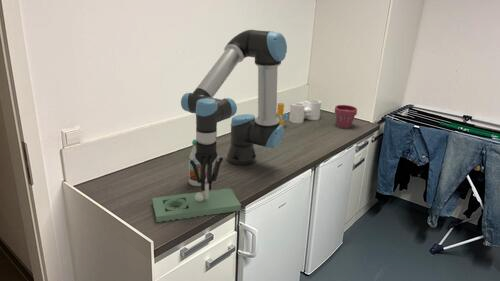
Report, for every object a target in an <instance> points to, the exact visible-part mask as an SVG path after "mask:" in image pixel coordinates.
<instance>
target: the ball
mask: <svg viewBox="0 0 500 281" xmlns="http://www.w3.org/2000/svg"><path fill="white" fill-rule="evenodd" d="M198 192H199V193H197V192H196V193H197V194H196V195H195V199H196V201H198V202H201V201H203V200H204V194H203V193H201V192H202V191H198Z"/></svg>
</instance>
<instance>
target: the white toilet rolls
mask: <svg viewBox="0 0 500 281" xmlns="http://www.w3.org/2000/svg"><path fill="white" fill-rule="evenodd" d="M321 105H322V101H321V100H319V99H314V98H313V99H312V98H311V102H310V101H308V100H304V101H299V102H298V101H296V104H293V103H290V106H289V109H290V110H289V116H288V118H289V119H288V121H289V122H291V123H294V124H302V123H304V120H305V119H307V120H309V121H310V120H311V121H317V120H320V115H321V107H322V106H321Z"/></svg>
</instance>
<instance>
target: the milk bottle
mask: <svg viewBox="0 0 500 281" xmlns="http://www.w3.org/2000/svg"><path fill="white" fill-rule="evenodd" d="M196 141H197V140H196V138H195V139H193V140H192V142H191V144H192V150H191V151H190V154H189V156H188V183H189V185H191V186H194V187H201V183H198V182H197V180H196V177H195V174H194V170H193V167H192V165H191V163H190V161H189V159H190V158H191V159H192V158H194V157H195V154H196ZM196 167H197V170H198V174H199V178H200V179H201V165H200V163H199V162H198V160H196ZM205 181H207V165H206V167H205Z"/></svg>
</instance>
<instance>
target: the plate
mask: <svg viewBox="0 0 500 281" xmlns="http://www.w3.org/2000/svg"><path fill="white" fill-rule="evenodd" d="M199 192H201V193H203V191H198V192H191V193H190V192H189V193H183V194H181V193H180V194H175V195H166V196H158V197H152V200H151V201H152V206H153V211H154V216H155V220H156V223H157V222H159V223H163V222H162V221H166V222H170V221H169V220H172V221H176V220H175V219H179V220H184V219H183V218H186V219H191V217H193V218H198V217H197V216H199V217H205V216H204V215H206V216H211V215H212V214H213V215H219V214H225V213H226V214H227V213H232V212H239V211H240V212H241V210H242V204H241V203H240V201H239V199H238V198H237V197H236V195H235V192H234V191H233V190H232V188H230V187H229V188H222V189H214V190H213V189H211V190H209V199H205V198H204V200H203V201H201V202H198V201H196V199H195V195H196V194H197V193H199Z"/></svg>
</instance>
